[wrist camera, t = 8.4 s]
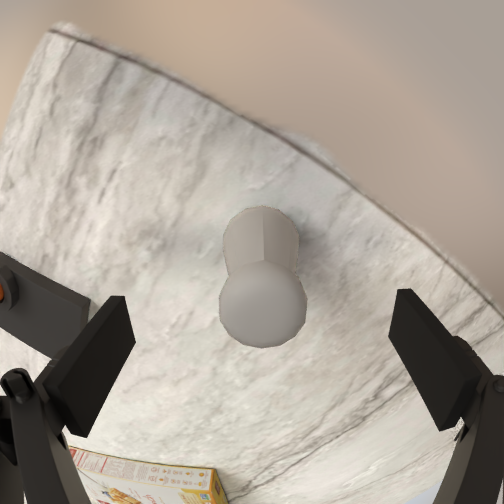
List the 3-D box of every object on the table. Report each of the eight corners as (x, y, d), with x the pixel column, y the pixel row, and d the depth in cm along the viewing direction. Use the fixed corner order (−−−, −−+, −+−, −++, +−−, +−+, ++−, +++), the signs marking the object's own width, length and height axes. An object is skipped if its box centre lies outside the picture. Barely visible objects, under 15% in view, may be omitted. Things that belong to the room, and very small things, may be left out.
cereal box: (232, 532, 40) (103, 512, 42) (233, 510, 46) (109, 494, 47) (211, 493, 34) (55, 465, 35) (215, 464, 39) (66, 443, 41)
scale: (-1, 314, 31) (-15, 327, 27) (-4, 246, 27) (-22, 257, 24) (84, 363, 32) (72, 381, 29) (90, 296, 29) (75, 313, 25)
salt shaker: (253, 278, 27) (249, 384, 15) (212, 228, 26) (173, 308, 14) (309, 240, 26) (348, 328, 14) (268, 185, 25) (278, 234, 12)
